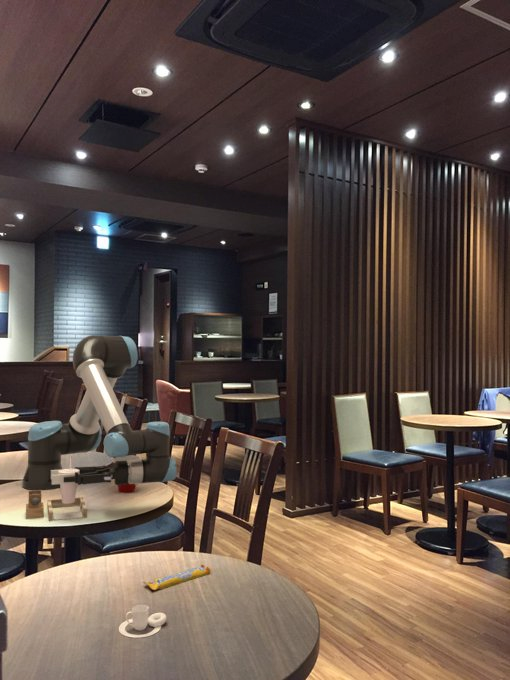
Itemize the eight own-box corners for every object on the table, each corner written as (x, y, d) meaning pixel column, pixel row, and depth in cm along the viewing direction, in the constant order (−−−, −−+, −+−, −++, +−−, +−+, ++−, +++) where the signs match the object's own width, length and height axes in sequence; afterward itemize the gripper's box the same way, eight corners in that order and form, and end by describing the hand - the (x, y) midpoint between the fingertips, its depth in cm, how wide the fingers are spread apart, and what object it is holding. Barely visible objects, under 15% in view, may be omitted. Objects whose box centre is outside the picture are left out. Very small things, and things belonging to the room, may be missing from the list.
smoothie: (72, 505, 174) (73, 459, 174) (53, 504, 176) (54, 458, 176) (83, 500, 181) (83, 455, 181) (64, 498, 182) (65, 454, 182)
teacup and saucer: (167, 619, 114) (168, 599, 114) (162, 640, 106) (163, 618, 106) (123, 619, 114) (123, 598, 114) (114, 640, 106) (115, 617, 106)
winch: (25, 513, 181) (26, 490, 181) (42, 511, 182) (43, 489, 182) (25, 519, 175) (26, 495, 175) (43, 517, 176) (44, 494, 176)
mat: (52, 514, 179) (52, 513, 179) (80, 512, 182) (80, 511, 182) (53, 520, 174) (53, 519, 174) (82, 517, 177) (82, 516, 177)
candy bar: (202, 570, 139) (203, 562, 139) (213, 575, 136) (213, 567, 136) (141, 588, 128) (142, 580, 128) (152, 594, 125) (152, 586, 125)
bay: (47, 507, 187) (47, 499, 187) (82, 504, 191) (82, 497, 191) (49, 521, 173) (49, 512, 173) (87, 517, 177) (87, 509, 177)
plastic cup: (104, 492, 207) (105, 459, 207) (122, 486, 217) (123, 454, 217) (130, 496, 203) (131, 462, 203) (147, 489, 213) (147, 456, 213)
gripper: (132, 491, 176) (52, 497, 167) (122, 477, 194) (49, 482, 185) (133, 466, 176) (52, 471, 167) (123, 455, 194) (50, 459, 185)
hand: (51, 477), depth 176 cm, fingers closed on smoothie, 6 cm apart
